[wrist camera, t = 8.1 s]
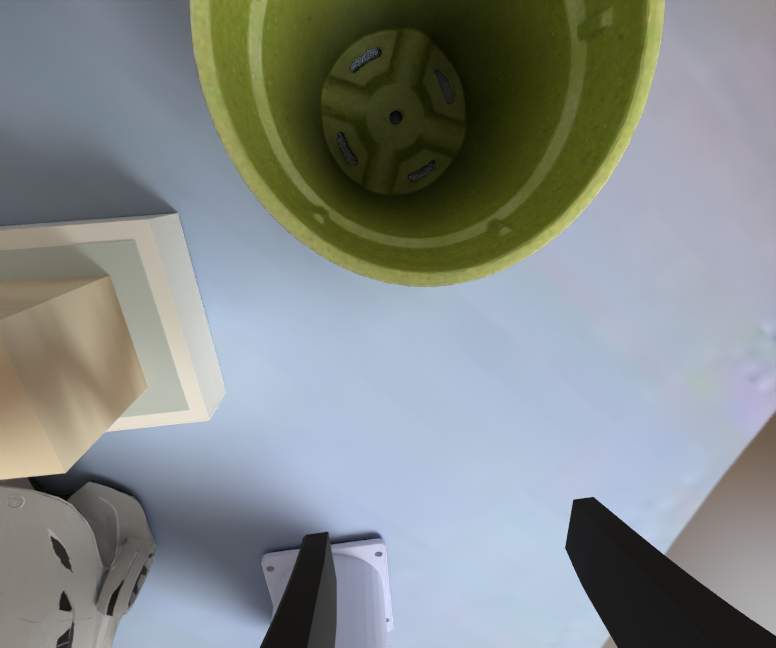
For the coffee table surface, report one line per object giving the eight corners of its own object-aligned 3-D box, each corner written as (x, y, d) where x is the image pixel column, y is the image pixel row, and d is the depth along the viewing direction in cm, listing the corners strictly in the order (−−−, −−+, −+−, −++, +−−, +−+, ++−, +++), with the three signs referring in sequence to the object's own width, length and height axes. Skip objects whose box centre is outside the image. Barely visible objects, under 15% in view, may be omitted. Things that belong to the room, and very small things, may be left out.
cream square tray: (226, 391, 19) (209, 421, 17) (45, 410, 19) (1, 443, 16) (177, 212, 16) (148, 219, 13) (-45, 229, 15) (-117, 239, 13)
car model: (-47, 686, 26) (-131, 794, 22) (-53, 417, 19) (-185, 497, 14) (121, 698, 29) (77, 798, 24) (176, 465, 21) (128, 547, 17)
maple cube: (147, 387, 16) (65, 473, 11) (25, 397, 16) (-111, 490, 11) (109, 275, 14) (-8, 323, 9) (-31, 284, 14) (-223, 338, 9)
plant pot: (361, 273, 18) (370, 354, 10) (226, 74, 14) (64, -58, 6) (535, 160, 16) (711, 146, 8) (433, -86, 13) (567, -504, 5)
